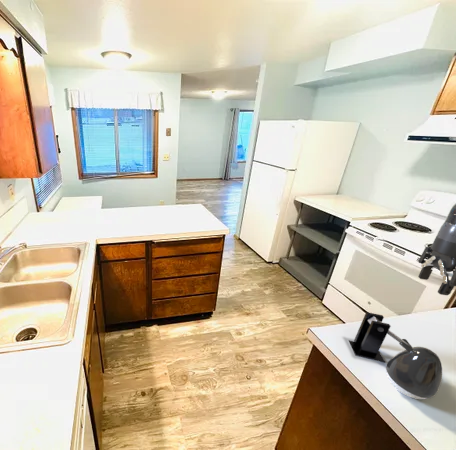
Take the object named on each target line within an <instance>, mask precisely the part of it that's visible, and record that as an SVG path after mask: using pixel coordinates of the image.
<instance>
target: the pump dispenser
mask: <svg viewBox="0 0 456 450" xmlns="http://www.w3.org/2000/svg"><path fill="white" fill-rule="evenodd" d="M398 343H399V345H400V346H401V347H402V348H403V349H404V350H402V351H400V352H398V353H397V354H395V355H394V356H393V357H391V358H390V360H388V362H387V363H386V364H385V371H386V376H387V379H388V381H389V382H390V384H391V385H392V386H393V387H394V388H395V389H396V390H397V391H398V392H400V393H401V394H402V395H405V396H407V397H410V398H411V399H414V400H415V399H416V400H425V399H431V398H433V397H435V396H436V395H437V394H438V393H439V390H440V387H441V384H442V381H443V365H442V362H441V361H442V360H441V359H440V357H439V356H438V355H437V354H436V353H435V352H434V350H432V349H429V348H427V347H424V346H412V348H411V347H410V346H408V345H407V344H405V343H404V342H402V341H401V342H398Z"/></svg>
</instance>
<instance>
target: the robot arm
mask: <svg viewBox="0 0 456 450" xmlns="http://www.w3.org/2000/svg"><path fill="white" fill-rule="evenodd" d="M418 264H420V266H421V269H420V272H419V273H418V278H419V279H420V280H425V281H428V280H429V279H430V276H432V275H431V274H432V273H433V269H435V268H436V269H437V270H438V271H439V273H440V276H442V282H441V285H440V286H439V288H438V290H437V293H438V294H439V295H442V296H449V295H450V294H451V293H452V291H453V290H454V288H455V287H456V203H454V204H453V205H452V206H451V208H450V210H449V212H448V214H447V215H446V218H445V220H444V222H443V223H442V225H441V226H440V228H439V230H438V231H437V234H436V236H435V238H434V240H433V242H432V244H431V246H425V247H424V250H423V251H422V253H421V255H420V257H419V259H418ZM449 277H450V278H449Z"/></svg>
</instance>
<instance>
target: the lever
mask: <svg viewBox="0 0 456 450" xmlns="http://www.w3.org/2000/svg"><path fill="white" fill-rule="evenodd" d="M372 321H377V322H381V321H380V320H379V319H377V318H376V317H375V316H374V317H372V318H370V319H369V320H368V322H369V323H370V324H371V322H372ZM387 336H390V337H391V338H393V339H394V340H395V341H397V342H398V343H400V342H401V341H402V342H404V343H405V344H407V345H408V346H410V347H411V348H412V347H413V346H412V345H411V344H410V342H409V341H408V340H407V339H406V338H401V337H399V336H398V335H397V334H395V333H394V332H392V331H391V330H390V329H389V331H388V333H387Z"/></svg>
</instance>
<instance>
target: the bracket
mask: <svg viewBox="0 0 456 450" xmlns="http://www.w3.org/2000/svg"><path fill="white" fill-rule="evenodd" d="M374 316H375V317H376V318H377V319H379V320H380V321H381V322H377V321H372V322H371V324H370V323H369V322H368V320H369V319H370V318H372V317H374ZM384 318H385V317H384V315H383V314H379V313H374V312H370V311H369V312H368V311H366V312H365V314H364V316H363V319H362V321H361V323H360V325H359V327H358V330H357V333H356V334H355V338H354V339H353V340H349V339H348V343H349V345H350V348H351V350H352V352H353V354H354V356H356V357H360V358H364V359H368V360H373V361H377V362H381V363H383V364H384V363H386V360H385V358H384V357H383V355H382V354H381V352H380V349H381V347H382V345H383V343H384V341H385V339H386V337H387V336H388V334H387V333H388V331H389V330H390V329H391V327H392V326H391V324H390V323H387V322H383V320H384Z"/></svg>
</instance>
